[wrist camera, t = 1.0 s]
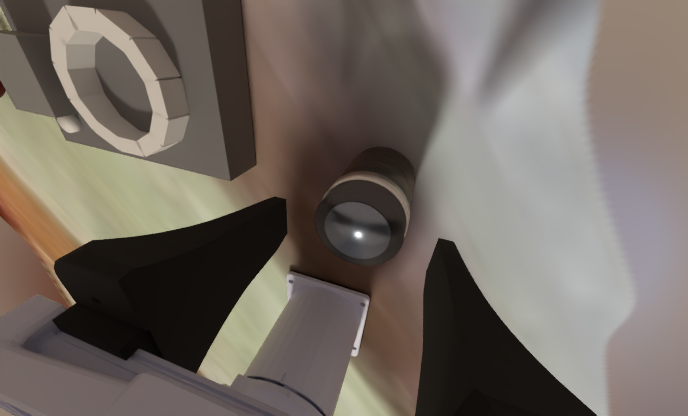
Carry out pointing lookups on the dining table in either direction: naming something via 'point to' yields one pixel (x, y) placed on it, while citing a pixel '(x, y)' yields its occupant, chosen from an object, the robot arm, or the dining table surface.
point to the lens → (368, 208)
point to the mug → (1, 89)
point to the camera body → (136, 77)
